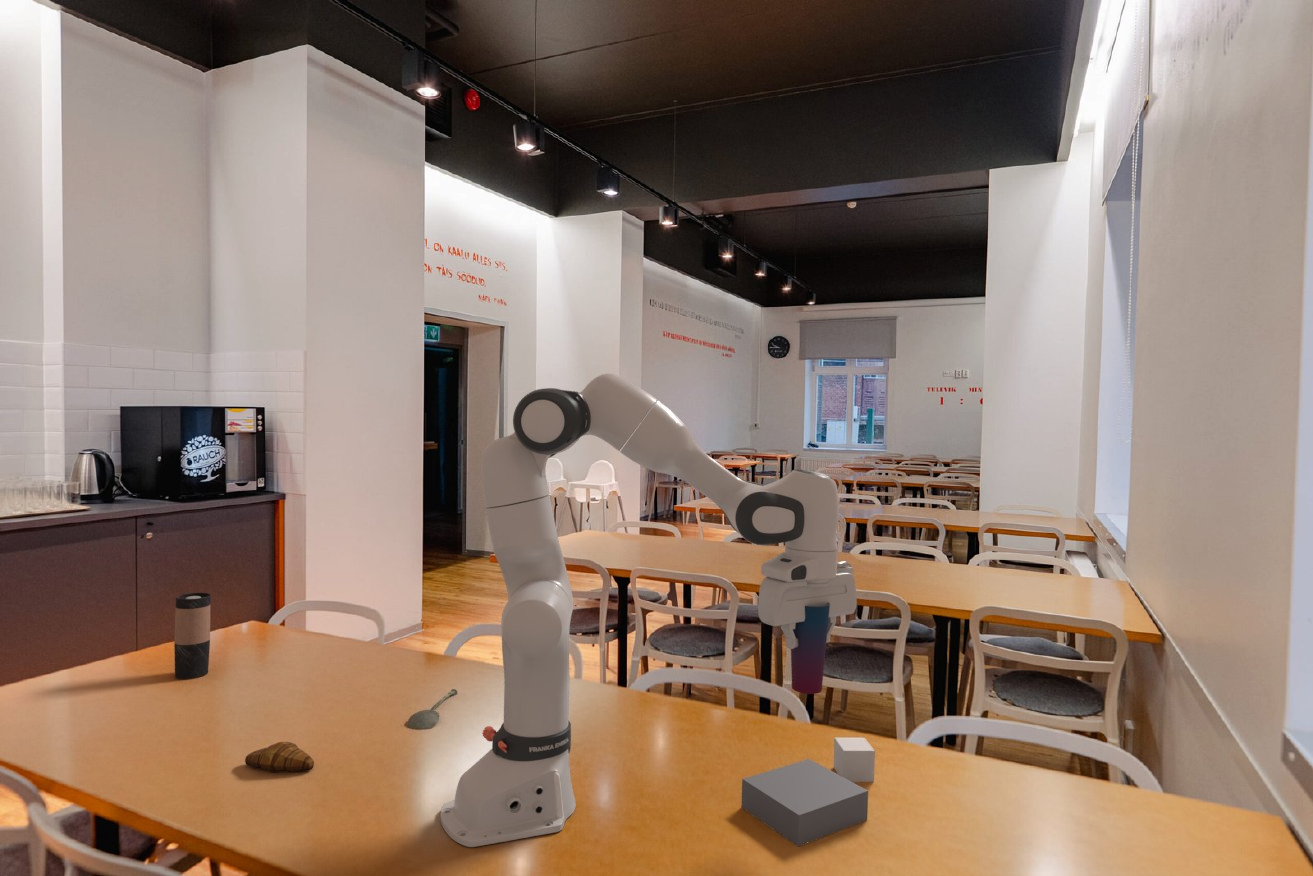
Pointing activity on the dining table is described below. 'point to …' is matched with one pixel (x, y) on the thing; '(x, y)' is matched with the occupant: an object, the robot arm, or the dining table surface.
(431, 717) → the soupspoon
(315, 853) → the dining table surface
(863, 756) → the white cube
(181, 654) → the travel mug
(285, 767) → the croissant
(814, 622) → the cup
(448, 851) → the dining table surface
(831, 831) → the plinth
